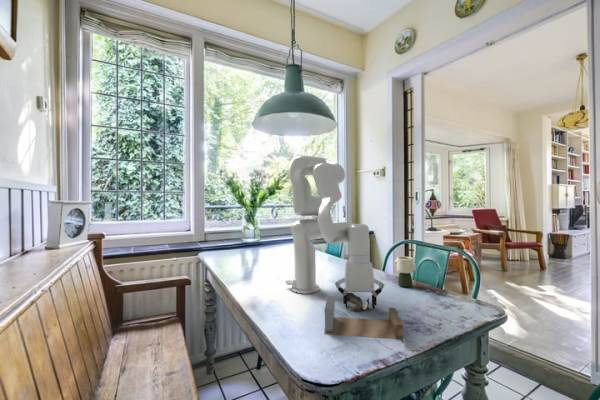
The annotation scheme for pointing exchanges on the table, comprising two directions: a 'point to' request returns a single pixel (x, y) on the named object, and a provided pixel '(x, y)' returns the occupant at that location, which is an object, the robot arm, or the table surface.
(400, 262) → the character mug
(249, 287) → the table surface
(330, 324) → the bookend
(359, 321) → the wooden book rack
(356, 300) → the eagle figurine
